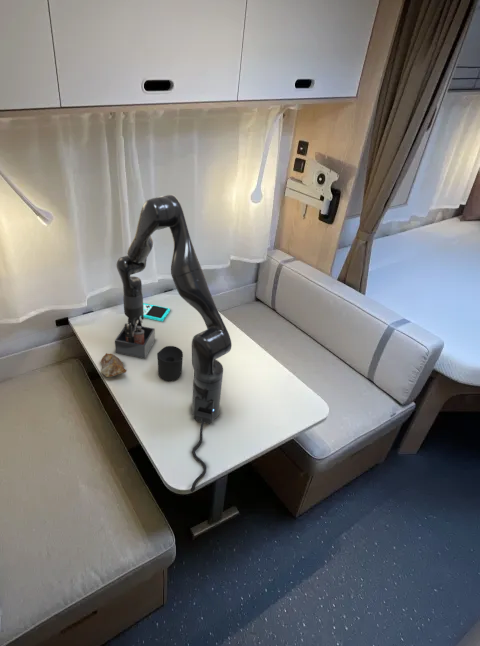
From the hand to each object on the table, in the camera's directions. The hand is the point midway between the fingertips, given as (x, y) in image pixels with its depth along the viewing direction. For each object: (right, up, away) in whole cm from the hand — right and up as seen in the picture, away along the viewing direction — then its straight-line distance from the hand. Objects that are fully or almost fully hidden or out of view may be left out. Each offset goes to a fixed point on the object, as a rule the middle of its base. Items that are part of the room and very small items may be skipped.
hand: (135, 336), depth 162 cm
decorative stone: (-8, -12, -9) cm, 17 cm away
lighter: (0, -4, +2) cm, 4 cm away
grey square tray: (0, -4, +3) cm, 5 cm away
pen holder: (+14, -14, -11) cm, 23 cm away
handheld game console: (+5, +10, +24) cm, 27 cm away
